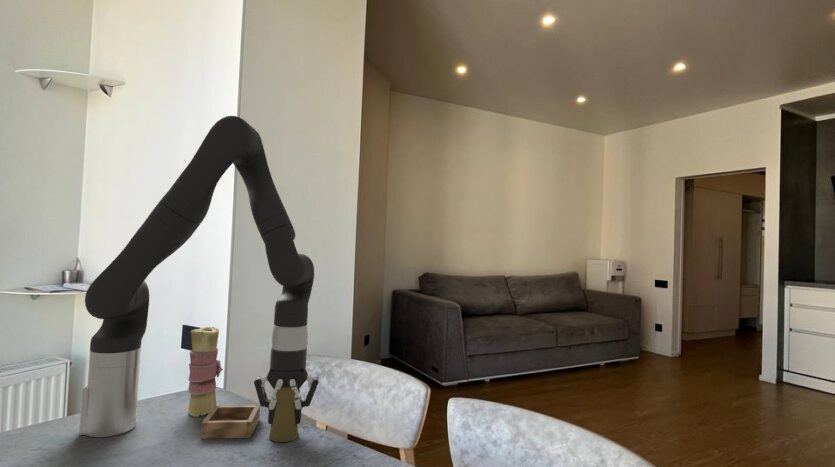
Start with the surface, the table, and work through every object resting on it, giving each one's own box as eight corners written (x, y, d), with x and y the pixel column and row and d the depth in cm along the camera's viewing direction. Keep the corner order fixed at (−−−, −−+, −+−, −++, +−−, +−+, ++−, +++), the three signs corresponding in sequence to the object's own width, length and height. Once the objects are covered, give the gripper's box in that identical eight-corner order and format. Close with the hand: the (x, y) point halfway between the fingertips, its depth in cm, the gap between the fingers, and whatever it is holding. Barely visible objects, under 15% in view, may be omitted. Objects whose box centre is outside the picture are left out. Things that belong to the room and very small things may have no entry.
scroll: (226, 407, 112) (231, 326, 113) (209, 418, 105) (215, 332, 105) (197, 404, 113) (202, 325, 114) (179, 415, 105) (184, 330, 106)
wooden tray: (200, 438, 94) (201, 422, 94) (214, 420, 104) (215, 405, 104) (250, 437, 95) (251, 421, 95) (259, 419, 105) (260, 405, 105)
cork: (282, 444, 92) (285, 390, 93) (263, 436, 96) (266, 384, 96) (304, 435, 97) (307, 384, 98) (285, 427, 101) (288, 378, 101)
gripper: (251, 349, 92) (246, 433, 92) (322, 349, 95) (317, 432, 94) (258, 341, 100) (253, 419, 99) (323, 342, 102) (319, 418, 101)
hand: (284, 425), depth 97 cm, fingers closed on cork, 4 cm apart
